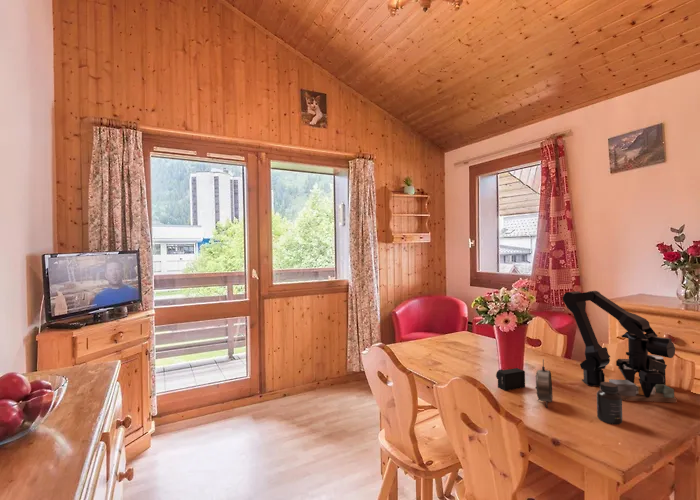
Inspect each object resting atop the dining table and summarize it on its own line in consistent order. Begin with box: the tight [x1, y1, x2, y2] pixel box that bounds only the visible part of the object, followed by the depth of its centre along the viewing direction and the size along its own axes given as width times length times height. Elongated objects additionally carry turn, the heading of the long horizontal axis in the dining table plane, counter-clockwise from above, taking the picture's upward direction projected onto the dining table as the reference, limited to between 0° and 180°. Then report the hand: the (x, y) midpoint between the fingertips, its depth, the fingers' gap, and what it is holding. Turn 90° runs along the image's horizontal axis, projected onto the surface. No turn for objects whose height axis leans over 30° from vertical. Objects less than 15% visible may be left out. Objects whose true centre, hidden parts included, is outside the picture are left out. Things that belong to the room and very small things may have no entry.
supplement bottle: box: [596, 381, 623, 426], centre depth 118 cm, size 7×7×12 cm
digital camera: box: [495, 367, 526, 392], centre depth 148 cm, size 10×5×7 cm, turn 109°
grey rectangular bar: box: [634, 382, 655, 395], centre depth 135 cm, size 13×3×3 cm, turn 81°
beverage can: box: [647, 354, 667, 387], centre depth 146 cm, size 7×7×12 cm
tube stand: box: [608, 379, 678, 404], centre depth 134 cm, size 20×6×6 cm, turn 81°
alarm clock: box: [535, 358, 553, 409], centre depth 132 cm, size 11×5×16 cm, turn 148°
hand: (639, 392), depth 135 cm, fingers open, 9 cm apart
